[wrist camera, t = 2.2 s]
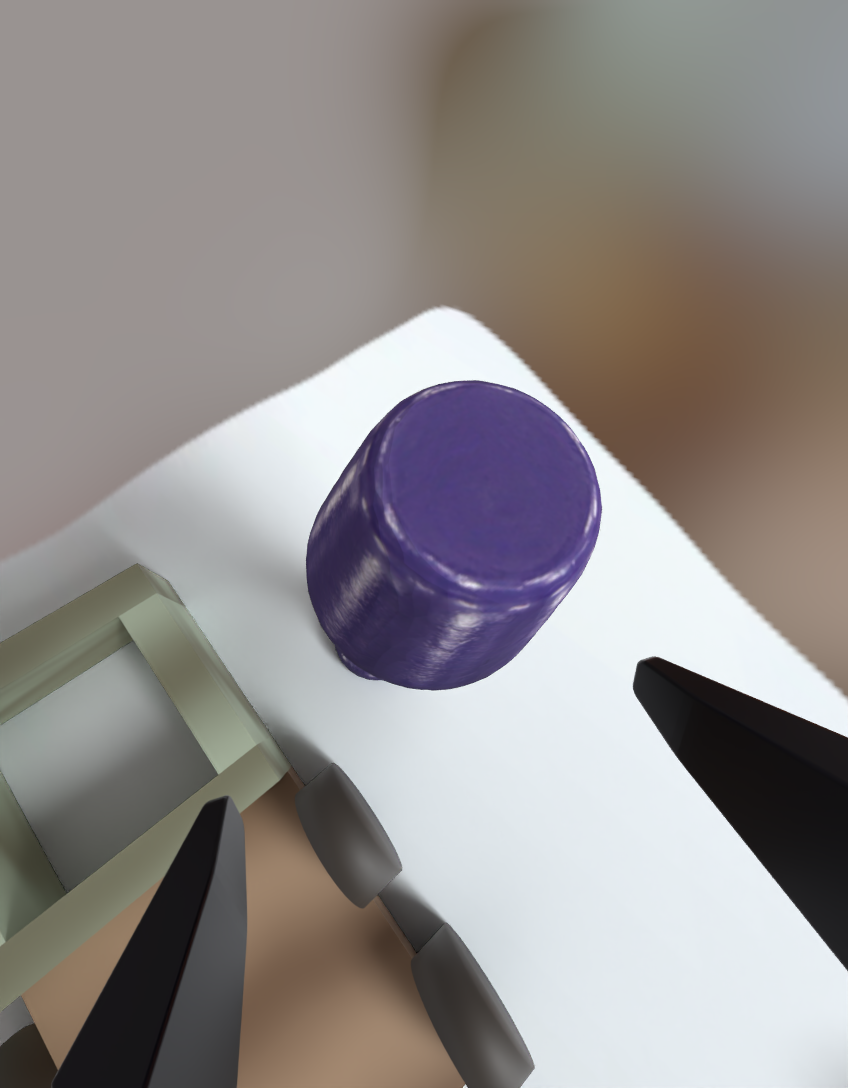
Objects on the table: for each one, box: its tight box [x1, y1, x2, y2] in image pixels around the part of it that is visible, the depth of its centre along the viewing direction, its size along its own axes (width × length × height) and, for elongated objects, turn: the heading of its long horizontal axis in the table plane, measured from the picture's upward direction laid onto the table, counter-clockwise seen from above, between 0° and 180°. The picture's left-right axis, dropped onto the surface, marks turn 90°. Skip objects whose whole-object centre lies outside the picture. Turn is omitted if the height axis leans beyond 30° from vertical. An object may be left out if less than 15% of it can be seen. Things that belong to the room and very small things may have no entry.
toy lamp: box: [306, 380, 602, 690], centre depth 13 cm, size 5×5×17 cm
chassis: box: [0, 564, 535, 1088], centre depth 14 cm, size 22×13×4 cm, turn 39°
